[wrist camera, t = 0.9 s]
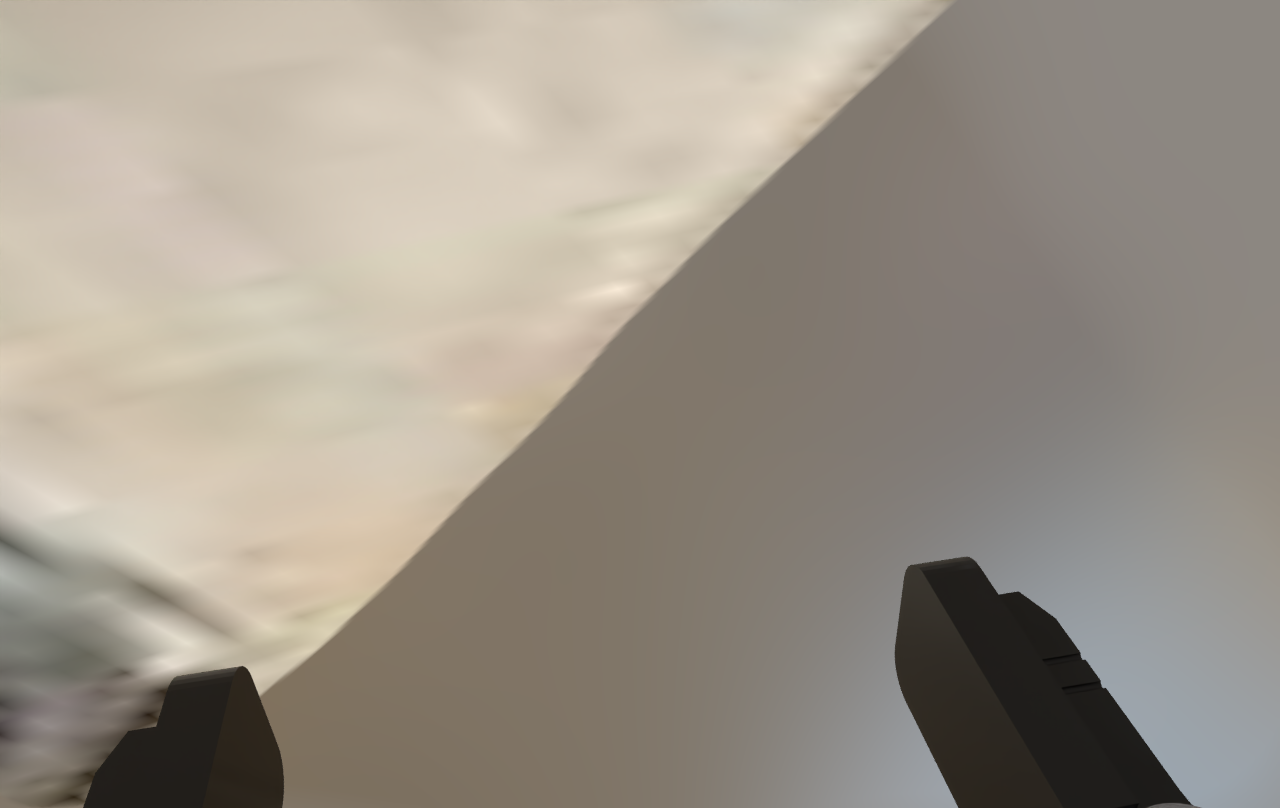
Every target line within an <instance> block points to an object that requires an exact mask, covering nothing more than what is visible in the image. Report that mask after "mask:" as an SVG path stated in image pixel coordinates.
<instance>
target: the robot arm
mask: <svg viewBox="0 0 1280 808" xmlns="http://www.w3.org/2000/svg"><path fill="white" fill-rule="evenodd" d="M895 665H896V671H897V676H898V681H899V684H900V687H901V691H902V693H903V696H904V698H905V701H906V703H907V705H908V707H909V709H910V711H911V713H912V715H913V717H914V719H915V721H916V723H917V725H918V727H919V729H920V731H921V733H922V735H923V737H924V739H925V741H926V743H927V745H928V747H929V749H930V751H931V753H932V755H933V757H934V759H935V761H936V763H937V765H938V767H939V769H940V771H941V773H942V775H943V777H944V779H945V782H946V784H947V786H948V787H949V789H950V792H951V793H952V795H953V798H954V799H955V801H956V804H957V806H958V808H1200V807H1196V806H1193V805H1192V804H1191V803H1190V802H1189V801H1188V800H1187V799H1186V797H1185V796H1184V795H1183V794H1182V792H1181V791H1180V790H1179V788H1178V787H1177V786H1176V784H1175V783H1174V782H1173V780H1172V779H1171V777H1170V776H1169V775H1168V773H1167V772H1166V771H1165V769H1164V768H1163V766H1162V765H1161V764H1160V762H1159V761H1158V759H1157V758H1156V757H1155V755H1154V754H1153V753H1152V751H1151V750H1150V748H1149V747H1148V745H1147V744H1146V743H1145V741H1144V740H1143V739H1142V737H1141V736H1140V735H1139V733H1138V732H1137V730H1136V729H1135V727H1134V726H1133V725H1132V723H1131V722H1130V721H1129V719H1128V718H1127V716H1126V715H1125V714H1124V712H1123V711H1122V710H1121V708H1120V707H1119V705H1118V704H1117V703H1116V701H1115V700H1114V698H1113V697H1112V696H1111V695H1110V693H1109V692H1108V690H1107V689H1106V688H1102V686H1101V681H1100V679H1099V678H1098V676H1097V675H1096V674H1095V672H1094V671H1093V669H1092V668H1091V667H1090V665H1089V664H1088V662H1087V661H1086V660H1082V658H1081V655H1080V652H1079V650H1078V649H1077V647H1076V646H1075V644H1074V643H1073V642H1072V640H1071V639H1070V638H1069V636H1068V635H1067V633H1066V632H1065V631H1064V629H1063V628H1062V627H1061V625H1060V624H1059V622H1058V621H1057V620H1056V619H1055V618H1054V617H1053V616H1051V615H1050V614H1049V613H1047V612H1046V611H1045V610H1043V609H1042V608H1041V607H1039V606H1038V605H1036V604H1035V603H1034V602H1032V601H1031V600H1030V599H1028V598H1027V597H1025V596H1024V595H1023V594H1021V593H1020V592H1013V593H1006V594H1000V595H998V593H997V592H996V590H995V589H994V587H993V586H992V585H991V583H990V582H989V580H988V578H987V577H986V575H985V574H984V572H983V571H982V569H981V568H980V567H979V565H978V564H977V563H976V562H975V561H974V560H973V559H972V558H970V557H961V558H954V559H948V560H941V561H935V562H929V563H922V564H916V565H910V566H909V567H908V568H907V570H906V572H905V576H904V584H903V590H902V598H901V606H900V613H899V622H898V629H897V637H896V644H895ZM283 795H284V776H283V765H282V759H281V754H280V750H279V747H278V745H277V742H276V739H275V737H274V734H273V731H272V729H271V726H270V723H269V721H268V718H267V716H266V713H265V710H264V708H263V705H262V703H261V700H260V697H259V695H258V692H257V690H256V687H255V684H254V682H253V679H252V677H251V674H250V672H249V671H248V669H247V668H246V667H244V666H240V667H234V668H227V669H221V670H214V671H208V672H201V673H195V674H188V675H182V676H177V677H175V678H174V679H173V680H172V681H171V683H170V685H169V688H168V690H167V693H166V697H165V700H164V703H163V706H162V710H161V713H160V716H159V719H158V723H157V726H156V727H151V728H145V729H139V730H132V731H128V732H127V734H126V735H125V736H124V737H123V739H122V740H121V741H120V742H119V744H118V745H117V746H116V748H115V749H114V750H113V751H112V753H111V754H110V755H109V756H108V758H107V759H106V760H105V762H104V763H103V764H102V765H101V767H100V768H99V769H98V770H97V772H96V773H95V776H94V778H93V781H92V784H91V787H90V790H89V793H88V795H87V798H86V801H85V804H84V807H83V808H282V805H283Z"/></svg>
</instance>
